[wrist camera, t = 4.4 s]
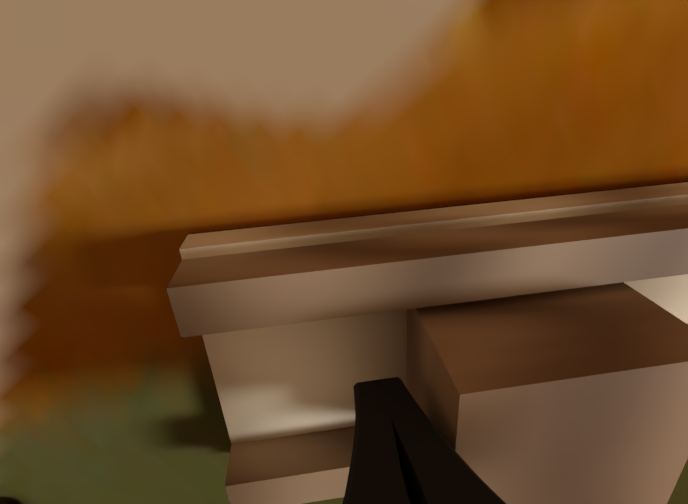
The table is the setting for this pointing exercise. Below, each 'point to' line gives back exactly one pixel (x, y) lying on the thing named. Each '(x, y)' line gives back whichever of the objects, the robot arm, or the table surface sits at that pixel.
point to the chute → (388, 308)
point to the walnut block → (558, 392)
